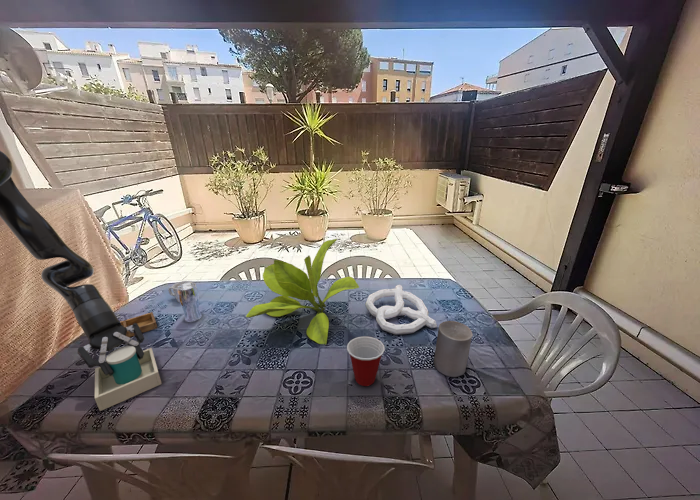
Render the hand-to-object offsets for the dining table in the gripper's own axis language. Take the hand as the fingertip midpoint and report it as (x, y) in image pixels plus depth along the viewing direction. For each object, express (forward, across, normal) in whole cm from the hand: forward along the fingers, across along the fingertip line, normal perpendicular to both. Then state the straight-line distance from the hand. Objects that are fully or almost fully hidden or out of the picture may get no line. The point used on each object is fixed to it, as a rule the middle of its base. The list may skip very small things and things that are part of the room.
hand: (127, 366), depth 76 cm
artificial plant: (+20, +52, -9) cm, 56 cm away
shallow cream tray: (+4, 0, +6) cm, 7 cm away
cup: (-21, +34, +31) cm, 51 cm away
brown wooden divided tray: (-16, +10, +26) cm, 32 cm away
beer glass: (-7, +28, +18) cm, 34 cm away
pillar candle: (+60, +55, -50) cm, 95 cm away
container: (+2, 0, +4) cm, 5 cm away
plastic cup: (+45, +37, -35) cm, 68 cm away
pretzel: (+43, +74, -32) cm, 91 cm away
